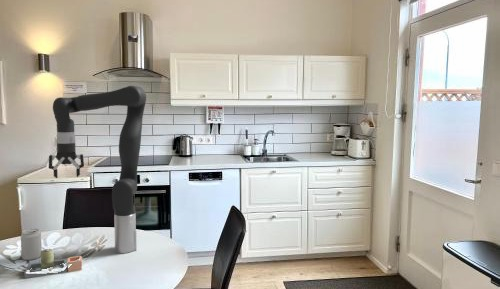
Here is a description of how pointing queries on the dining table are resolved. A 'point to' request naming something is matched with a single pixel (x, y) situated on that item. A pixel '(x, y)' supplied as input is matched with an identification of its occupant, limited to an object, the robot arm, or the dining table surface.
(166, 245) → the dining table surface
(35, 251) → the can
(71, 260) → the cup
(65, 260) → the trough
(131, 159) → the robot arm
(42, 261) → the cell
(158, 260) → the dining table surface
